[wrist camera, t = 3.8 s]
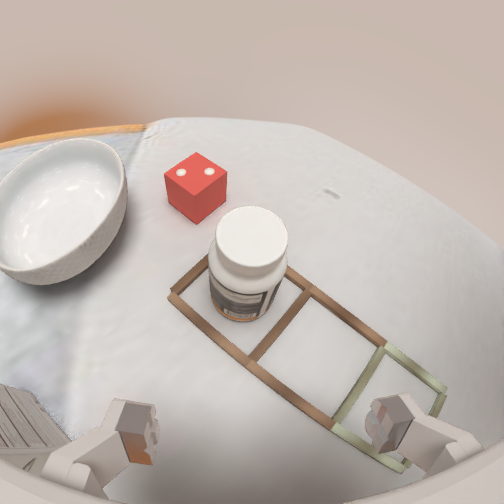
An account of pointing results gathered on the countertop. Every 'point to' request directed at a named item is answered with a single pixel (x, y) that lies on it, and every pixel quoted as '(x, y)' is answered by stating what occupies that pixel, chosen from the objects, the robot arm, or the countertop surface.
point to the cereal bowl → (60, 210)
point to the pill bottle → (247, 262)
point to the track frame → (287, 393)
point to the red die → (196, 187)
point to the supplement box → (27, 431)
